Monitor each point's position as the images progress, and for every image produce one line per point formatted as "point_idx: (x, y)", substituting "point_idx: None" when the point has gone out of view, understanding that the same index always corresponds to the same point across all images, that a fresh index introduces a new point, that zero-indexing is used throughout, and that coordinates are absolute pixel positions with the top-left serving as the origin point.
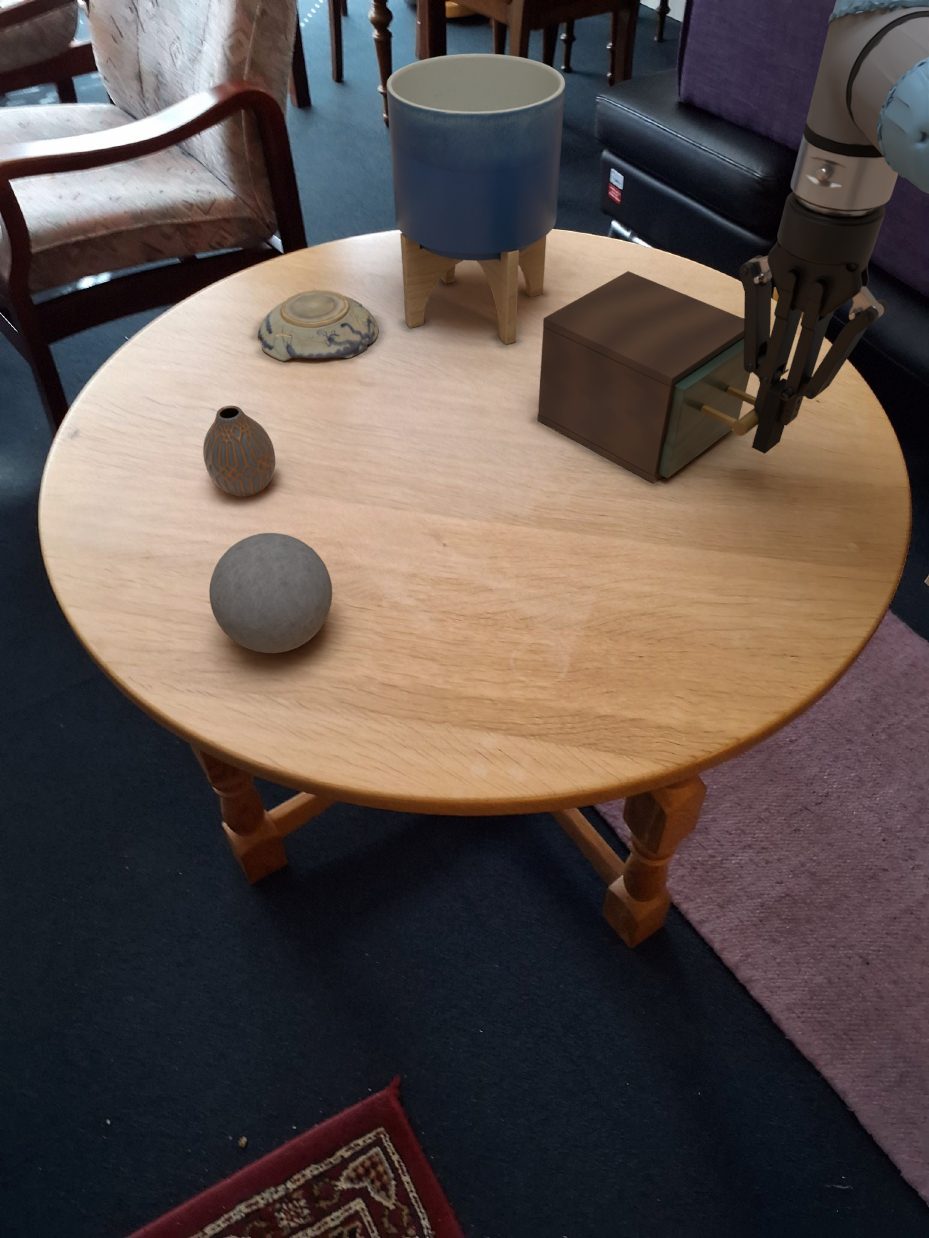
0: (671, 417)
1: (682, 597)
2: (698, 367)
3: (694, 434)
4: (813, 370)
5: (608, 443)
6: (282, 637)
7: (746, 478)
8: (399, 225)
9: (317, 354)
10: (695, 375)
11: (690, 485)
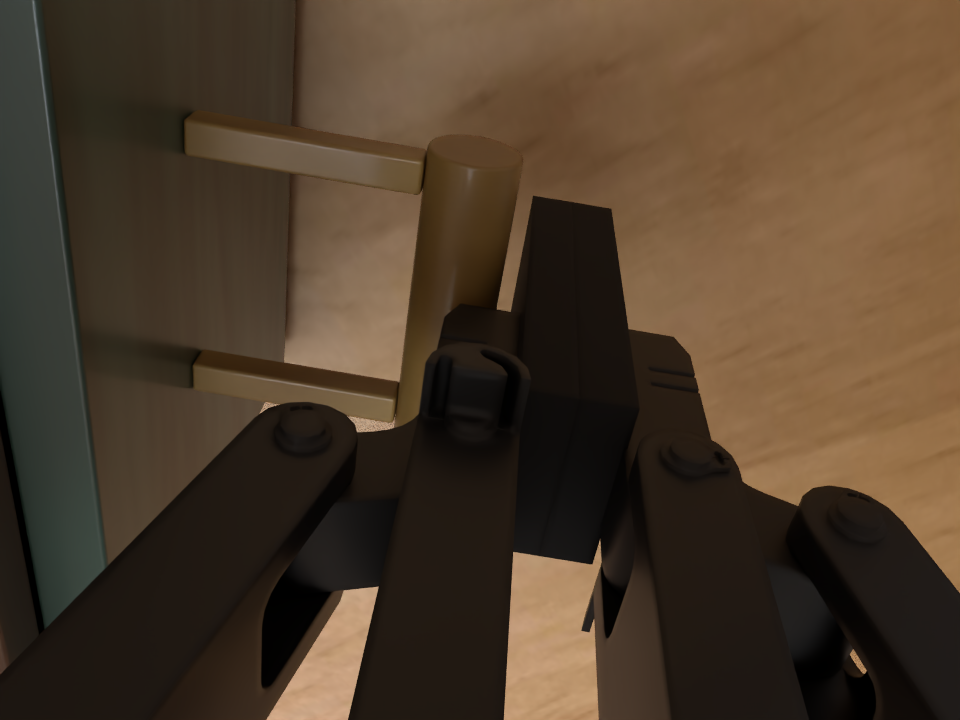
0: None
1: (570, 670)
2: (15, 518)
3: (244, 313)
4: (759, 551)
5: None
6: None
7: (513, 146)
8: None
9: None
10: (61, 573)
11: (357, 299)
